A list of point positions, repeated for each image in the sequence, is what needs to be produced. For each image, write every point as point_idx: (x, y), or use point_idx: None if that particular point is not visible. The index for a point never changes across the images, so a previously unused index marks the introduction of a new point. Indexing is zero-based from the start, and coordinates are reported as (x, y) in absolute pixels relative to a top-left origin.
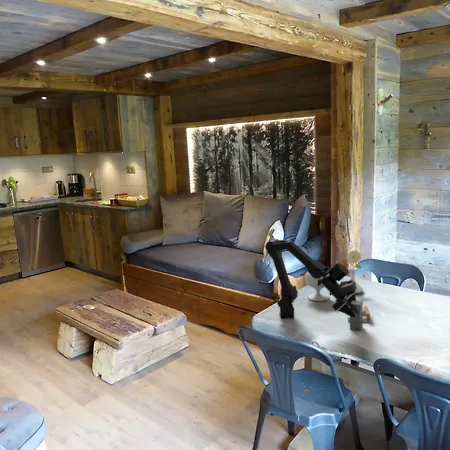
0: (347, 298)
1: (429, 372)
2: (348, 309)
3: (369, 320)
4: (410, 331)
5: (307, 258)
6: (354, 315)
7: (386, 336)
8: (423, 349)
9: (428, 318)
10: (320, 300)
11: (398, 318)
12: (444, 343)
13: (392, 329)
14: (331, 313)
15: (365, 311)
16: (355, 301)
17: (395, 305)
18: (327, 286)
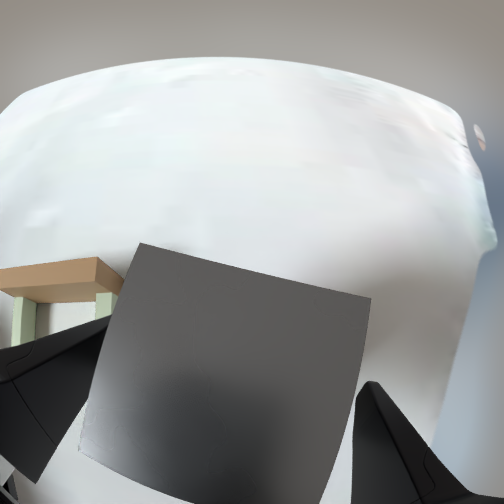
0: (3, 466)
1: (481, 137)
2: (437, 474)
3: (120, 278)
4: (237, 113)
5: None
6: (383, 391)
7: (322, 197)
8: (381, 108)
9: (121, 86)
10: None
11: (99, 152)
12: (312, 65)
13: (224, 168)
14: (48, 482)
15: (48, 288)
16: (138, 406)
17: (4, 176)
18: None
